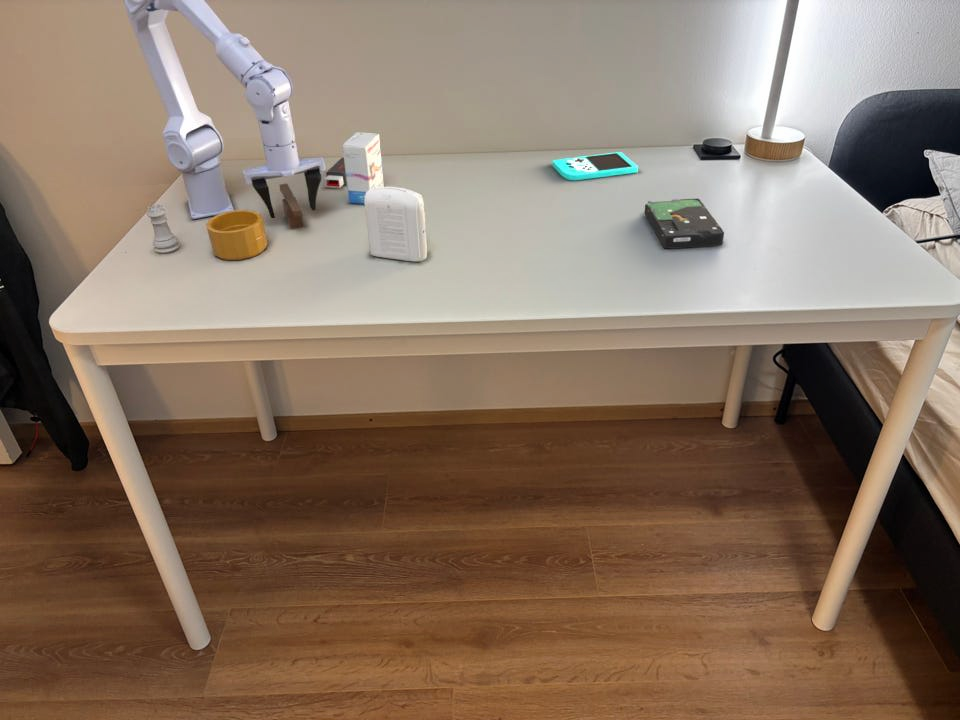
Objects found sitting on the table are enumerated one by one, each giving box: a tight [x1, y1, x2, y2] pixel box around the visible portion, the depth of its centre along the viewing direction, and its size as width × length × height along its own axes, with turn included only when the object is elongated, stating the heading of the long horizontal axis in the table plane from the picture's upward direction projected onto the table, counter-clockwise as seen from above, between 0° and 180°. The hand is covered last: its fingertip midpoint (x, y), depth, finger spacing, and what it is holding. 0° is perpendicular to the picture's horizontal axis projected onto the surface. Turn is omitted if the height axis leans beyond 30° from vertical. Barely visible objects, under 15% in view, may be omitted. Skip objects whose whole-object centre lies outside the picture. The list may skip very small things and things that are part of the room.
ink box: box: [342, 131, 385, 205], centre depth 147 cm, size 9×5×12 cm, turn 168°
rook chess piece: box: [146, 204, 181, 255], centre depth 131 cm, size 4×4×8 cm
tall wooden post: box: [278, 183, 305, 230], centre depth 140 cm, size 14×2×5 cm, turn 22°
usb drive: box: [324, 157, 347, 189], centre depth 158 cm, size 5×12×3 cm, turn 167°
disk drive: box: [644, 198, 725, 249], centre depth 132 cm, size 10×3×15 cm
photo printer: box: [363, 186, 428, 263], centre depth 125 cm, size 10×4×12 cm, turn 72°
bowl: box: [205, 209, 269, 261], centre depth 131 cm, size 9×9×6 cm
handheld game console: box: [551, 151, 639, 181], centre depth 158 cm, size 10×16×1 cm, turn 104°
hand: (292, 212), depth 140 cm, fingers open, 7 cm apart
